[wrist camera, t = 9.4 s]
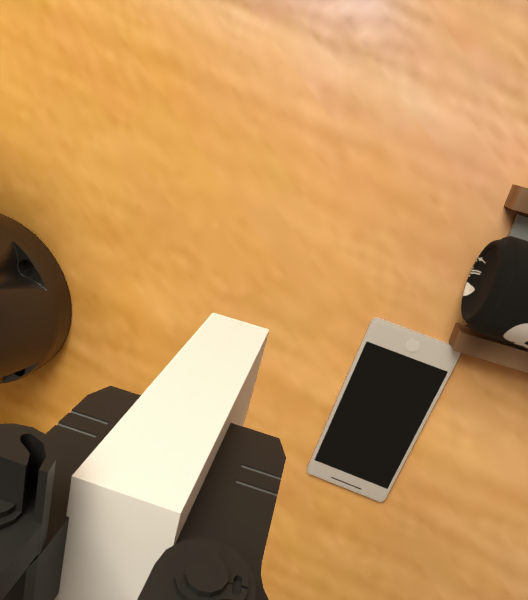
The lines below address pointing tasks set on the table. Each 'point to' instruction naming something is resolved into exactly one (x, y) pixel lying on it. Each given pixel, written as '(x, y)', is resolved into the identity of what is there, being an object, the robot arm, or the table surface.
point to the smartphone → (381, 408)
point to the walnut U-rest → (485, 345)
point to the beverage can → (499, 292)
